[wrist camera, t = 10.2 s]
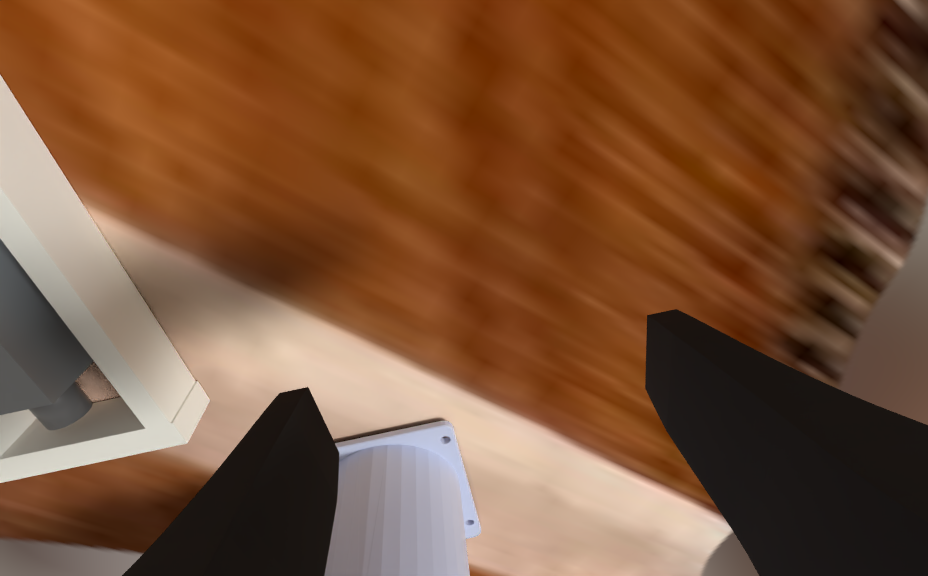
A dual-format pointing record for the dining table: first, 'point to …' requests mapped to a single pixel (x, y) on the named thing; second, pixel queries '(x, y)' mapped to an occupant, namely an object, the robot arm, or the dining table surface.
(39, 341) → the grey plug
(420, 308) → the dining table surface
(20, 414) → the cable comb
